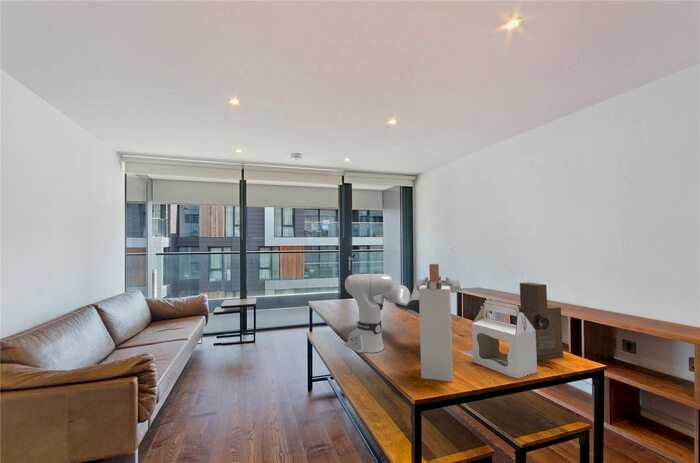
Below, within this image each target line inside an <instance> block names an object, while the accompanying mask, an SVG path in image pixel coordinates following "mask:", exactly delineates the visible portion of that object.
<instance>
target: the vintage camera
mask: <svg viewBox="0 0 700 463" xmlns="http://www.w3.org/2000/svg"><path fill="white" fill-rule="evenodd" d="M547 292H548V291H547V284H543V283H537V282H529V281H528V282H520V283H519V298H520V303H519V304H520V305H518V306H519V309H520V312H522V313H523V314H525V316H526V318H527V319H528V321H529V322H530V323H531V325H532V326H533V328H534V329H535V332H536V355H537V362H542V361H549V360H554V359H555V360H556V359H562V358H564V357H565V356H564V349H563V344H564V343H563V328H562V326H563V325H562V307H561V306H557V305H552V304H548V293H547ZM512 324H514V325H516V324H517V316H514V315H512Z"/></svg>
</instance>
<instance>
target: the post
mask: <svg viewBox="0 0 700 463" xmlns="http://www.w3.org/2000/svg"><path fill="white" fill-rule="evenodd" d="M428 280H429V281H428V282H427V286H424V285H421V287H420V288H419V311H420V316H419V335H420V336H419V338H420V340H419V343H420V347H419V348H420V378H421V379H427V380H434V381H443V382H444V381H445V382H451V383H453V376H454V375H453V373H454V371H453V370H454V368H453V367H454V365H453V345H452V344H453V342H452V341H453V340H452V339H453V337H452V335H453V333H452V307H451V306H452V305H451V302H452V300H451V299H452V298H451V293H450V286H442V280H443V279H441V280H439V281H438V287H437V290H436V291H430V289H429V284H430V283H431V281H430V279H428Z"/></svg>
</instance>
